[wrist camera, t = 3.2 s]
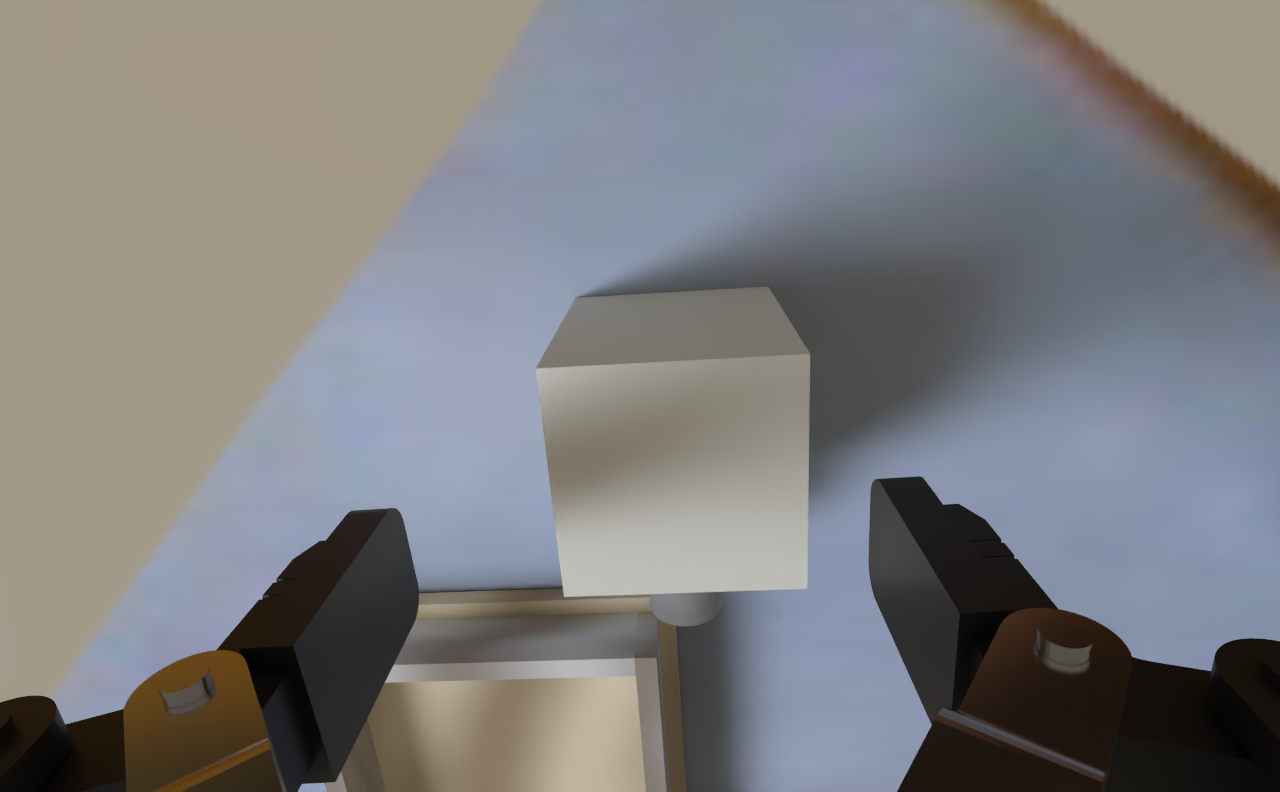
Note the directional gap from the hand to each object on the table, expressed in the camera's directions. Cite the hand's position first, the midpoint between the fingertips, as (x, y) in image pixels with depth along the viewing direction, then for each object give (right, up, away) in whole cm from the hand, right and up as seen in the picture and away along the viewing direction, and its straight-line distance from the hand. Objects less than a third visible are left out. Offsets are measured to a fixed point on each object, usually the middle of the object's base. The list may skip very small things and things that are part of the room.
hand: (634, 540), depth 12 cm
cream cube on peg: (+1, +3, +7) cm, 8 cm away
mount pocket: (-4, -9, +12) cm, 15 cm away
